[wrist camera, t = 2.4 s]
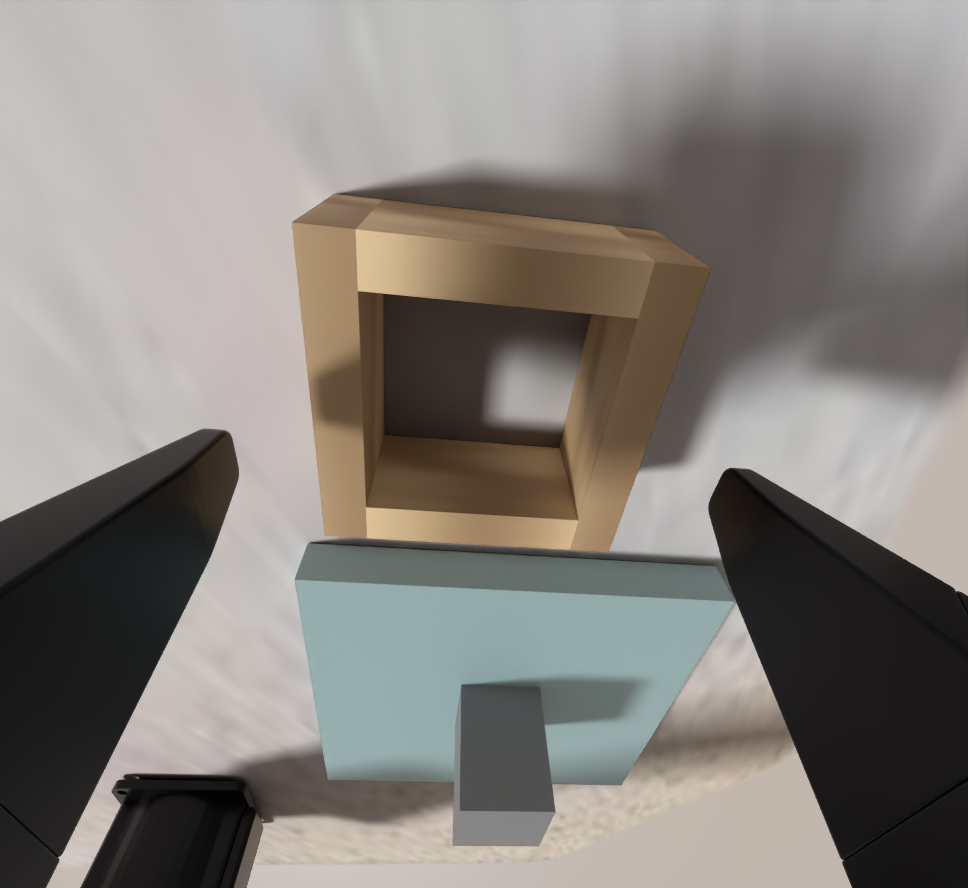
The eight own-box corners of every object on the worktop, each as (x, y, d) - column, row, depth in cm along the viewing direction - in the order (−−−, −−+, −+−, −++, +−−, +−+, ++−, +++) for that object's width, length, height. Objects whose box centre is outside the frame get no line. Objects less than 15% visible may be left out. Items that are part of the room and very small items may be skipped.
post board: (335, 745, 24) (303, 894, 19) (307, 543, 16) (244, 714, 12) (613, 751, 25) (645, 893, 21) (716, 566, 17) (804, 730, 13)
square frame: (349, 460, 14) (324, 535, 12) (334, 193, 10) (291, 222, 8) (585, 477, 15) (608, 552, 12) (656, 230, 11) (711, 268, 8)
